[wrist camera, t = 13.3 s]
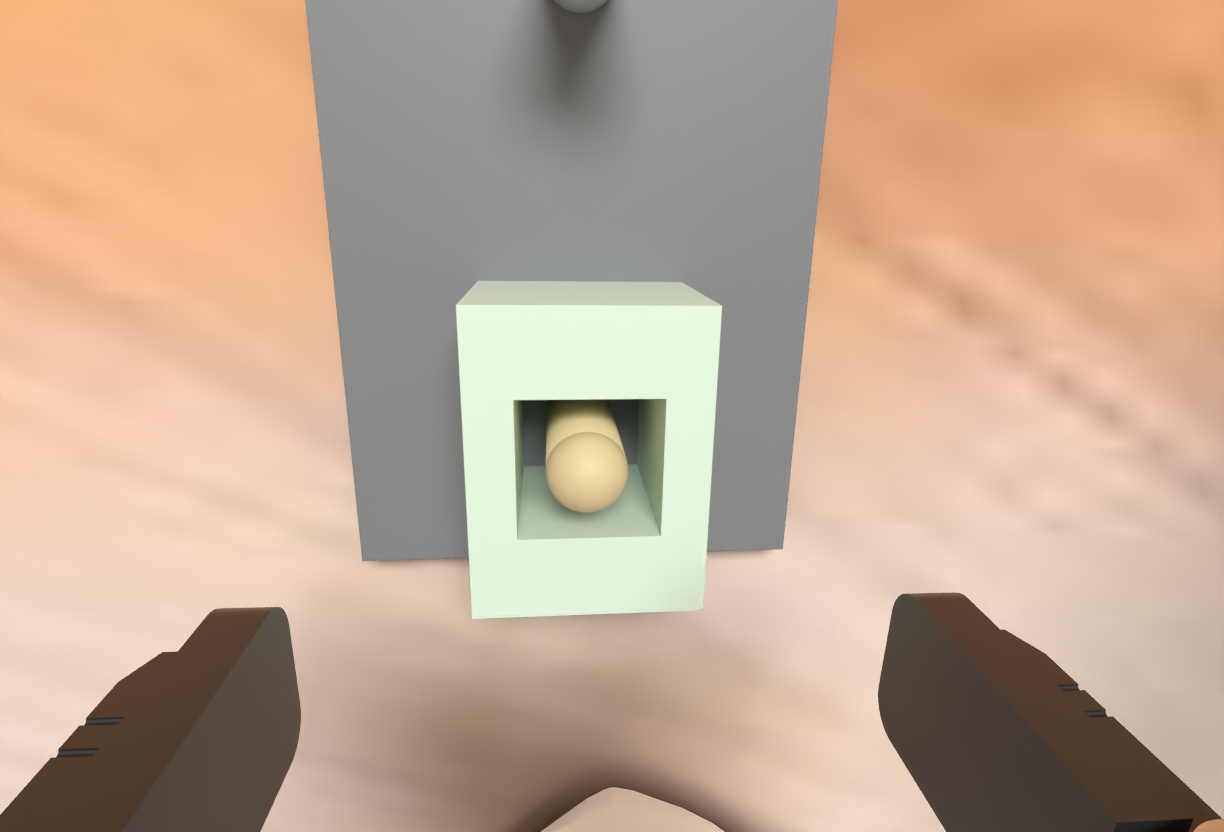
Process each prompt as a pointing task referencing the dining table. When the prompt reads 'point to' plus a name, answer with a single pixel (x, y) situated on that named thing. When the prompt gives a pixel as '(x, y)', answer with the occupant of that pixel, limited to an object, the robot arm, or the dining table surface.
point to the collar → (656, 486)
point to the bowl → (629, 815)
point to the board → (566, 226)
